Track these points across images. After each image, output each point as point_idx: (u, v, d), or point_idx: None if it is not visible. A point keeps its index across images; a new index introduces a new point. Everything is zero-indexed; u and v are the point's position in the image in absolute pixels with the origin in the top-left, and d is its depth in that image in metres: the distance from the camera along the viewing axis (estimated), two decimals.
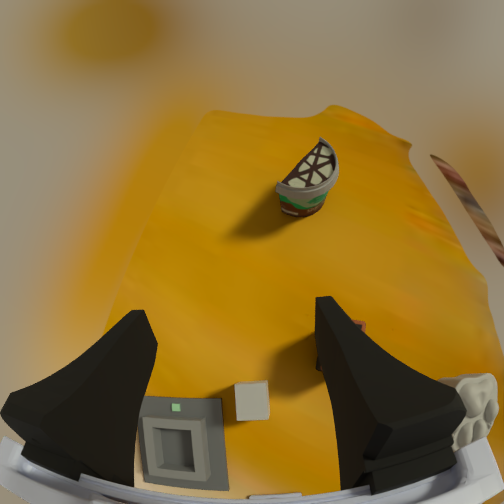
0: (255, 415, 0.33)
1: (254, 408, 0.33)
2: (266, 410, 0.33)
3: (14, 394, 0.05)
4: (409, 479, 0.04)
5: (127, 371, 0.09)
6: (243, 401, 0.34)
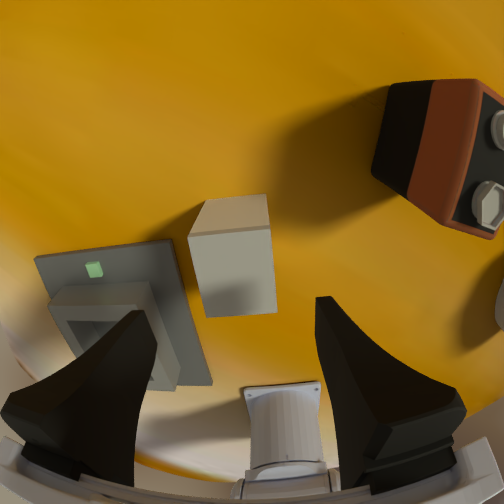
0: (247, 305, 0.16)
1: (243, 291, 0.15)
2: (273, 294, 0.16)
3: (14, 394, 0.05)
4: (409, 479, 0.04)
5: (127, 371, 0.09)
6: (215, 277, 0.15)
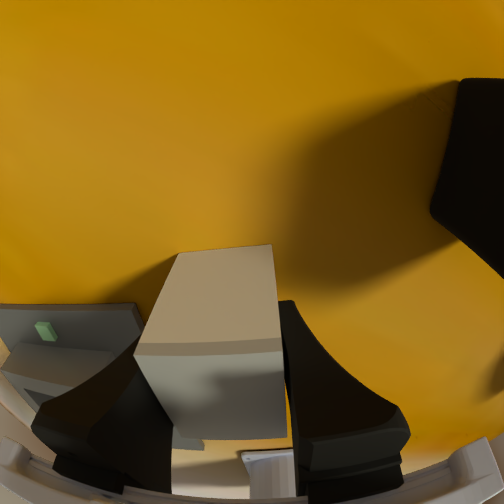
0: (242, 432, 0.09)
1: (235, 419, 0.09)
2: (282, 423, 0.09)
3: (46, 404, 0.05)
4: (347, 495, 0.04)
5: None
6: (189, 404, 0.08)
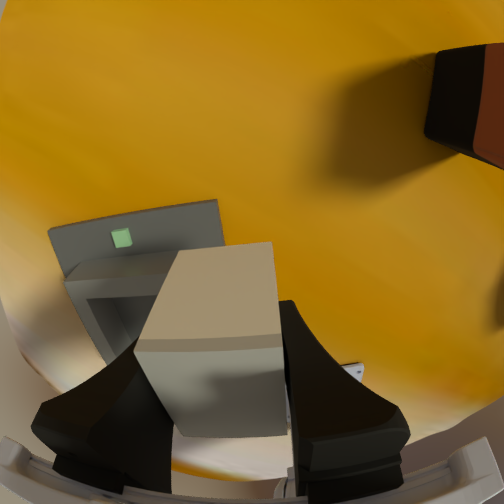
0: (242, 430, 0.09)
1: (235, 417, 0.09)
2: (282, 420, 0.09)
3: (46, 404, 0.05)
4: (347, 495, 0.04)
5: None
6: (189, 401, 0.08)
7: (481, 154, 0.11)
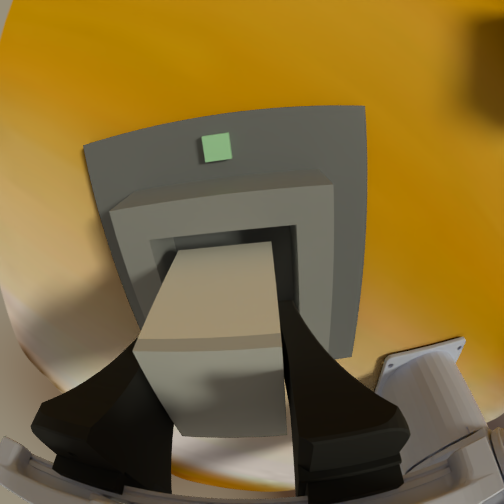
0: (241, 430, 0.09)
1: (235, 417, 0.09)
2: (281, 420, 0.09)
3: (46, 404, 0.05)
4: (347, 495, 0.04)
5: None
6: (188, 401, 0.08)
7: None
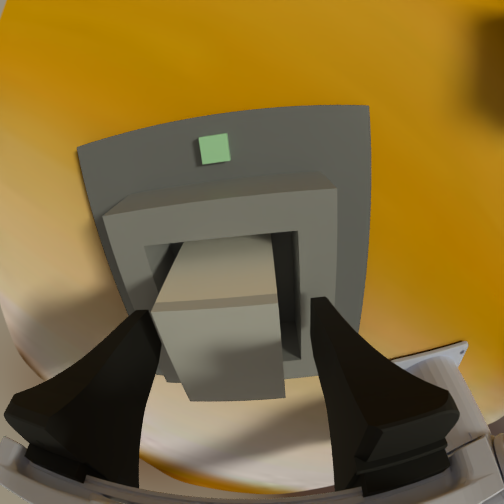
0: (244, 392, 0.11)
1: (238, 377, 0.10)
2: (280, 380, 0.10)
3: (18, 395, 0.05)
4: (401, 482, 0.04)
5: (132, 371, 0.09)
6: (197, 361, 0.10)
7: None
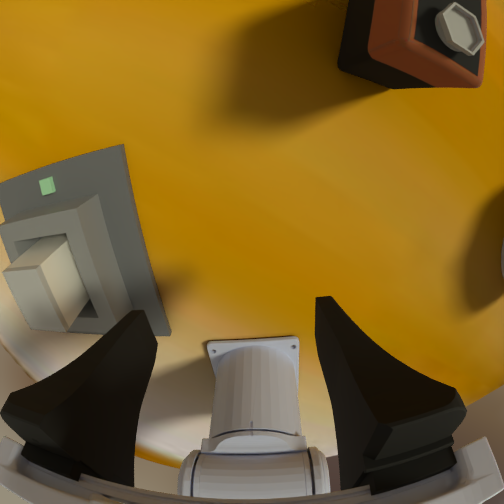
0: (47, 324, 0.16)
1: (40, 312, 0.16)
2: (57, 318, 0.16)
3: (14, 394, 0.05)
4: (409, 479, 0.04)
5: (127, 371, 0.09)
6: (23, 300, 0.15)
7: (377, 56, 0.10)
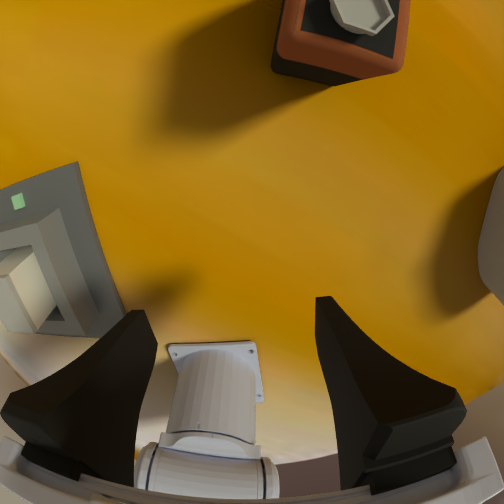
0: (19, 326, 0.17)
1: (13, 316, 0.16)
2: (26, 321, 0.16)
3: (14, 394, 0.05)
4: (409, 479, 0.04)
5: (127, 371, 0.09)
6: None
7: (283, 55, 0.10)
